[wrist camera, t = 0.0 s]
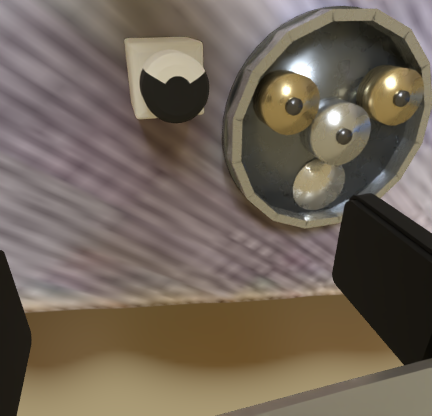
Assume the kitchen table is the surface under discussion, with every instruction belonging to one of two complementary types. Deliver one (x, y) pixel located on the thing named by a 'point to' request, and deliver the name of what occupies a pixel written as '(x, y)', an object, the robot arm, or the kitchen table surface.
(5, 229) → the kitchen table surface
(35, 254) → the kitchen table surface
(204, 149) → the kitchen table surface
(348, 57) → the carrier
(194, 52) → the medicine bottle
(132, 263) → the kitchen table surface
